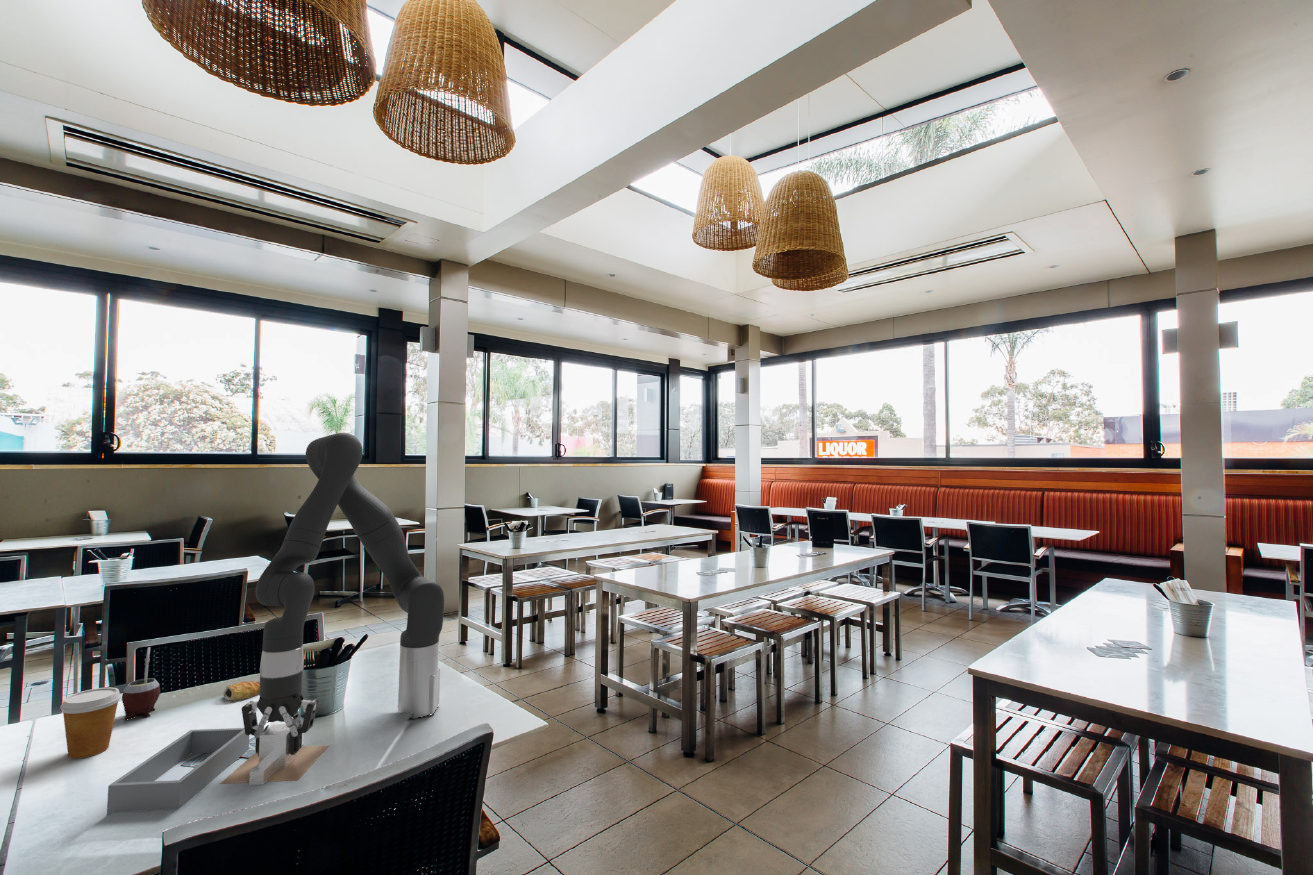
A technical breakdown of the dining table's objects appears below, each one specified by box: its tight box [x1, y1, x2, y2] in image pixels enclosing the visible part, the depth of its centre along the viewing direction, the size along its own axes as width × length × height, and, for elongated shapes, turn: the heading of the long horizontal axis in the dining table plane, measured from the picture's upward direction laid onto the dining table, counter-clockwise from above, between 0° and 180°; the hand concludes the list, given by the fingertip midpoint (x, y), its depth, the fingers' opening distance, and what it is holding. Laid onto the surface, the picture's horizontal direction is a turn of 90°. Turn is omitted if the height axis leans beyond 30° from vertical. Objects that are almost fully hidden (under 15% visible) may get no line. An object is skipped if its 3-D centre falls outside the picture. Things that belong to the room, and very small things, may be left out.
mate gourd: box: [121, 646, 161, 721], centre depth 145 cm, size 8×8×15 cm
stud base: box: [219, 745, 330, 785], centre depth 120 cm, size 14×14×6 cm
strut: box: [248, 723, 305, 786], centre depth 120 cm, size 16×5×7 cm, turn 7°
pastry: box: [223, 680, 260, 702], centre depth 158 cm, size 9×7×4 cm
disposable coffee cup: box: [59, 687, 122, 760], centre depth 126 cm, size 10×10×12 cm
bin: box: [106, 727, 250, 816], centre depth 114 cm, size 22×12×6 cm, turn 7°
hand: (278, 753), depth 120 cm, fingers open, 5 cm apart
